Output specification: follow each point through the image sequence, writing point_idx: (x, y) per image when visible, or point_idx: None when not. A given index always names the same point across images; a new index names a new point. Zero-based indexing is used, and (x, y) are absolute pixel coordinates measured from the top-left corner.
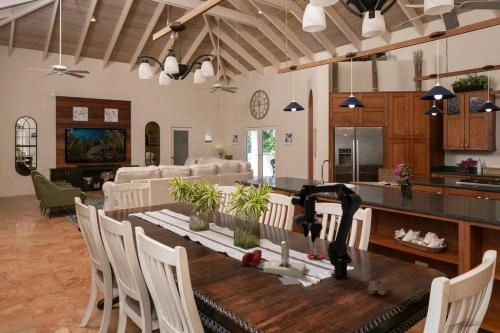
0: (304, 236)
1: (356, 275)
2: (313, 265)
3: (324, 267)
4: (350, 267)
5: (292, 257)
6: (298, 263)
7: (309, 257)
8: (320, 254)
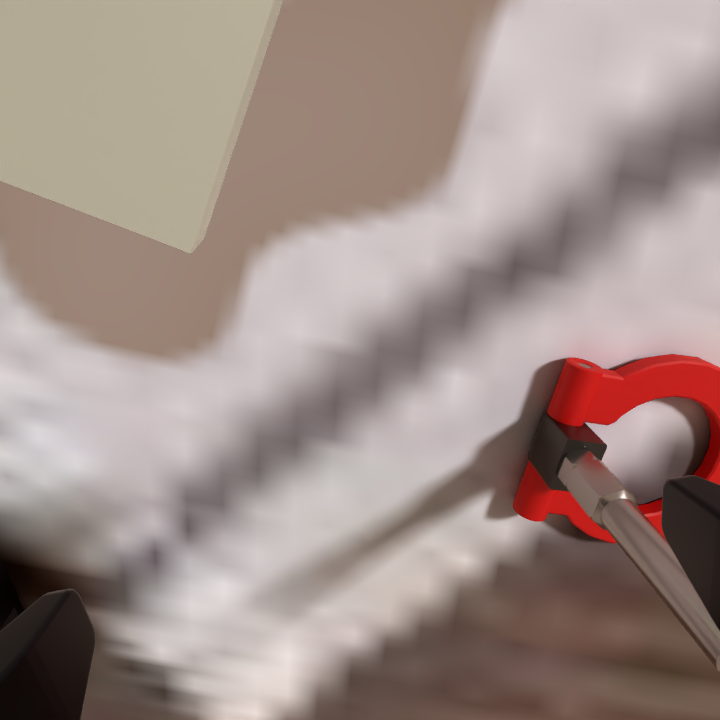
0: (702, 481)
1: None
2: (326, 366)
3: (247, 480)
4: (246, 713)
5: (712, 126)
6: (179, 118)
7: (575, 372)
8: None
